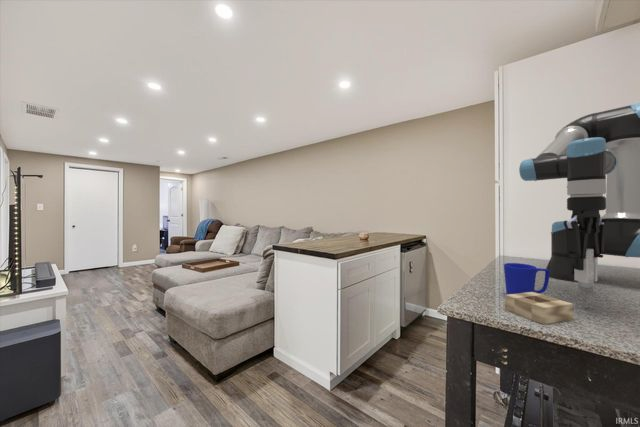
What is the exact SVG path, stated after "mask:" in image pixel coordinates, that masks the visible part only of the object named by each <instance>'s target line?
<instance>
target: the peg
mask: <svg viewBox="0 0 640 427" xmlns="http://www.w3.org/2000/svg"><path fill="white" fill-rule="evenodd" d="M586 259H588V283H584V282H580V281H577V283H578V285H577V286H578V288H577V290H578V292H581V293H583V294H584V293H586V294H594V293H595V292H594V290H595V288H594V286H595V285H594V284H595V282H594V249H592V248H587V250H586Z"/></svg>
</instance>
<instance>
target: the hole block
mask: <svg viewBox="0 0 640 427" xmlns="http://www.w3.org/2000/svg"><path fill="white" fill-rule="evenodd" d="M504 310H505V311H508V312H510V313H513V314H515V315H516V314H517V315H518V316H521V317H524V318H527V319H529V320H531V321H534V322H537V323H539V324H541V325H548V324H554V323H561V322H567V321H573V320H574V303H571V302H569V301H564V300H561V299H558V298H555V297H552V296H549V295H544V294H543V293H536V292H526V293H517V294H509V295H508V294H505V295H504Z"/></svg>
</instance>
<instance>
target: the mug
mask: <svg viewBox="0 0 640 427" xmlns="http://www.w3.org/2000/svg"><path fill="white" fill-rule="evenodd" d="M503 271H504V281H505V282H504V283H505V292H506V295H509V294H517V293H526V292H535V293H538V294H543V293H544V292H546V290H547V289H548V286H549V282H550V281H549V280H550V276H549V274H550V271H549V270H548V269H546V268H542V267H540V268H539V267H537V266H534V265H533V264H526V263H517V262H516V263H515V262H508V263H507V262H505V263H504V264H503ZM538 272H545V273H544V282H543V286H542V288H541V289H539V290H536V288H535V286H536V277H537V273H538Z"/></svg>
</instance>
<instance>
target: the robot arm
mask: <svg viewBox="0 0 640 427" xmlns="http://www.w3.org/2000/svg"><path fill="white" fill-rule="evenodd" d="M519 164H520V165H519V168H518V170H519V176H520V178H521V180H523V181H525V182H531V181H534V182H536V181H545V180H557V179H566V181H567V182H566V183H567V184H566V195H567V196H569V197H567V199H566V209H567V211H570V212H571V211H572V214H571V217H570V219H569V220H562V221H555V222H553V223H552V224H551V232H550V234H551V237H550V238H551V244H550V245H551V252H550V253H551V255H550V259H549V261H548V263H547V266H546V268H545V269H548V270H549V271H550V274H549V278H555V279H558V280H563V281H571V282H578V281H580V282H584V283H588V259H586V250H587V248H592V249H594V283H596V282H598V281H599V276H598V275H599V274H598V269H599V268H598V266H599V265H598V262H599V261H598V258H601V259H602V258H603V257H604V255H605V256H614V257H625V258H640V103H635V104H629V105H625V106H622V107H621V106H620V107H617V108H612V109H608V110H604V111H599V112H598V111H597V112H594V113H589V114H586V115H584V116H581V117H579V118H577V119H575V120H573V121H571V122H570V123H568V124H566V125H565V126H563V127H562V128H561V129H560V130H559V131H558V132H557V133H556V134H555V136H554V139H553V140H552V142H550V144H548V145H547V147H545V149H543V151H541V153H539V154H538V155H537V156H536V157H535V158H532V157H531V158H528V159H523V160H522V161H521V162H520V163H519ZM604 195H606V196H604ZM604 210H605V214H604V215H602V216H601V212H600V211H604Z"/></svg>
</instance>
